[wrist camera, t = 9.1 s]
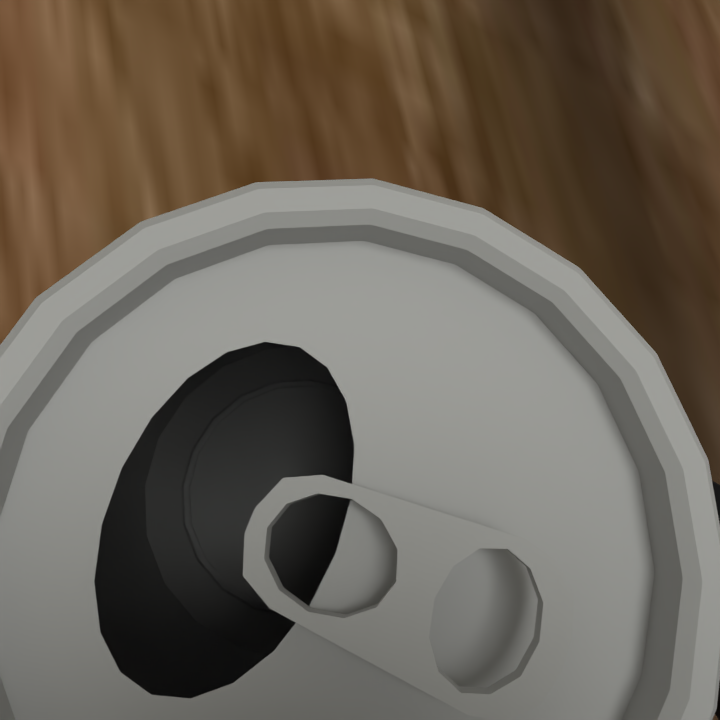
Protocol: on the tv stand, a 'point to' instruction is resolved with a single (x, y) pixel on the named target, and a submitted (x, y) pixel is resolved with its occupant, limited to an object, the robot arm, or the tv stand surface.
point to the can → (347, 478)
